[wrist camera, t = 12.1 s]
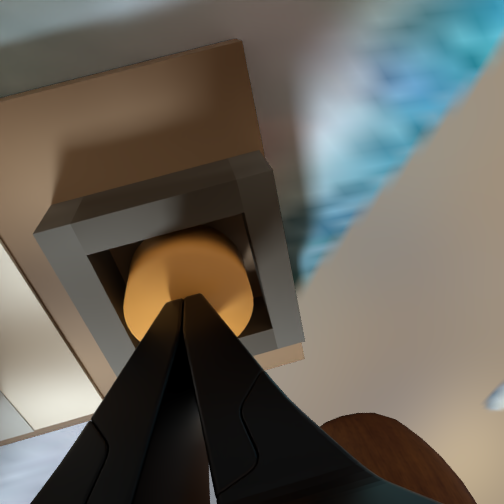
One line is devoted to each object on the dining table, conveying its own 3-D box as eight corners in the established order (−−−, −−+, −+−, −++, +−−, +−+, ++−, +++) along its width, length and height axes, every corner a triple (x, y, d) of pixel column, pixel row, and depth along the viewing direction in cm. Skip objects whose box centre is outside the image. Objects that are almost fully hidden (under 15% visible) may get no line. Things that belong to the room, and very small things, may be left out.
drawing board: (297, 339, 15) (317, 393, 13) (-110, 454, 14) (-160, 532, 12) (235, 38, 9) (254, 45, 7) (-423, 204, 9) (-613, 265, 7)
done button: (253, 301, 11) (264, 337, 10) (152, 329, 11) (149, 369, 10) (228, 209, 10) (238, 238, 9) (110, 241, 10) (101, 275, 8)
